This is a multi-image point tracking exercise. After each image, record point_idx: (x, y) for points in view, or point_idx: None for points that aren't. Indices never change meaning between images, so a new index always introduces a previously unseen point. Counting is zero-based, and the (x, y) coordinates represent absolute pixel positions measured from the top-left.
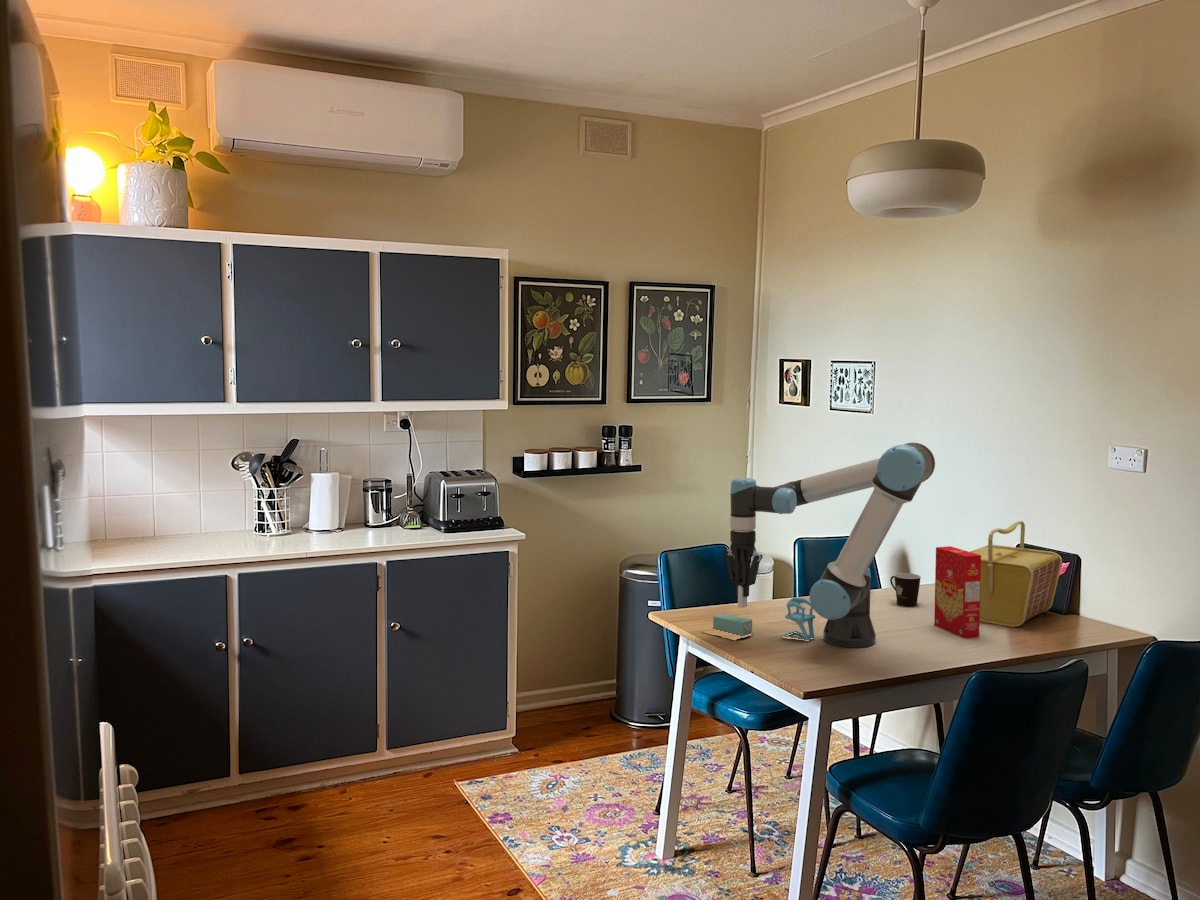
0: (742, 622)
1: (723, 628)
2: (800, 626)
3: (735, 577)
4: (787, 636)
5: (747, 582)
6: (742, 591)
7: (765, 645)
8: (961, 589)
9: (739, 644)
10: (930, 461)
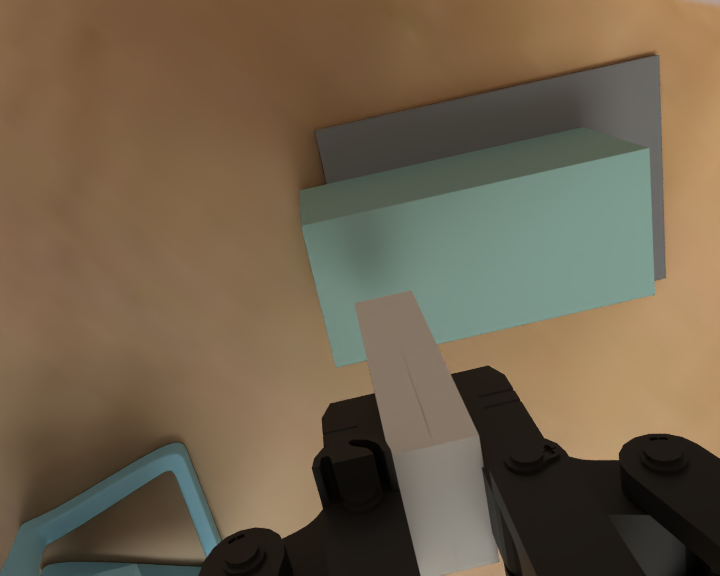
0: (316, 239)
1: (497, 158)
2: (15, 571)
3: (608, 533)
4: (136, 469)
5: (273, 563)
6: (381, 420)
7: (97, 245)
8: None
9: (225, 94)
10: None
